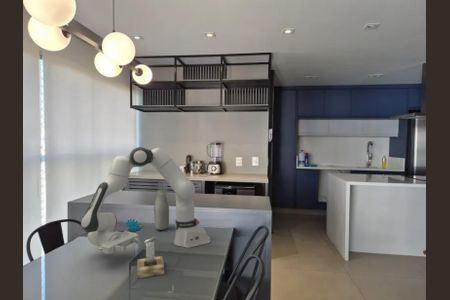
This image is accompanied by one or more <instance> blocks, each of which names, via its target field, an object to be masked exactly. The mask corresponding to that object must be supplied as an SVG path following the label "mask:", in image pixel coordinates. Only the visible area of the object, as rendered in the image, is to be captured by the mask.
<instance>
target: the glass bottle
mask: <svg viewBox="0 0 450 300" xmlns="http://www.w3.org/2000/svg"><path fill="white" fill-rule="evenodd" d="M167 198H168V197H167V192H166V190H164V189H160V190H159V189H158V190H156V192H155V201H154V205H153V215H154V216H153V217H154V218H153V219H154V221H153V223H154V226H155V227H154V228H155V229H156V230H157V231H163V230H164V231H165V230H166V229H167V228H168V227H169V225H170V206H169V203H168V202H169V201H168V199H167Z"/></svg>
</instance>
